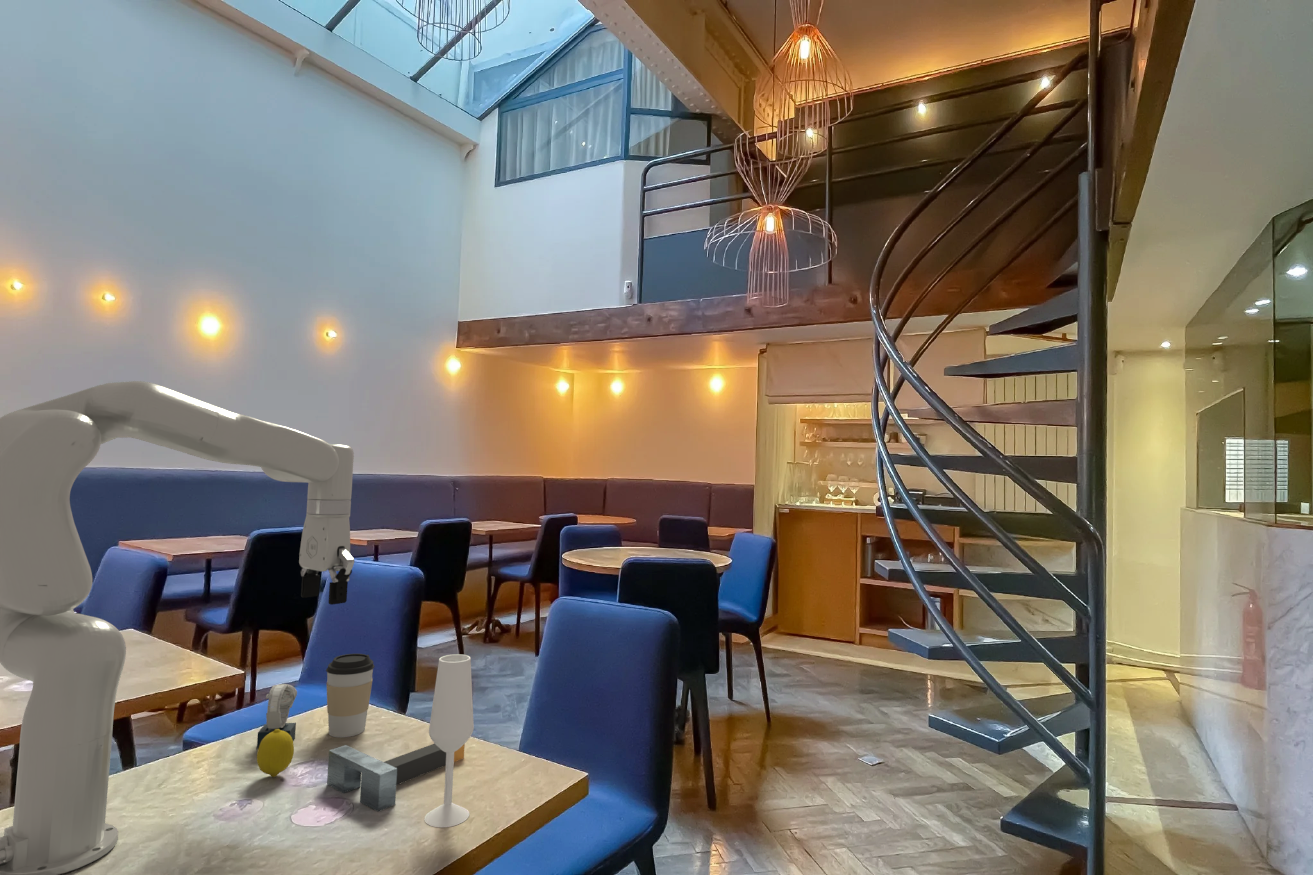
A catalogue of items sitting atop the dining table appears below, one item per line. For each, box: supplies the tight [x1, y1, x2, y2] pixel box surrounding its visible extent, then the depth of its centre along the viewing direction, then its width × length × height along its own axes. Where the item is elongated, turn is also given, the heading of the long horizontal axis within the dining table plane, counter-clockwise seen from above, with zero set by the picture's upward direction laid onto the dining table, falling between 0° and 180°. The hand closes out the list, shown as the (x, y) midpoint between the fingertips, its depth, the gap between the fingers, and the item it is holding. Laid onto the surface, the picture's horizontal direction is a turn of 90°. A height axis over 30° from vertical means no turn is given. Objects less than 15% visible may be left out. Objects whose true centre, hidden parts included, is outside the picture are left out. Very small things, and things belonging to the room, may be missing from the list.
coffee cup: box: [325, 653, 375, 738], centre depth 137 cm, size 9×9×15 cm
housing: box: [326, 744, 397, 813], centre depth 110 cm, size 3×15×6 cm, turn 55°
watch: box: [256, 683, 298, 750], centre depth 129 cm, size 6×8×11 cm
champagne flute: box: [424, 653, 475, 828], centre depth 104 cm, size 7×7×24 cm
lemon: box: [256, 729, 295, 778], centre depth 115 cm, size 6×6×8 cm
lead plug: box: [383, 743, 466, 786], centre depth 119 cm, size 16×3×3 cm, turn 145°
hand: (323, 600), depth 126 cm, fingers open, 9 cm apart
